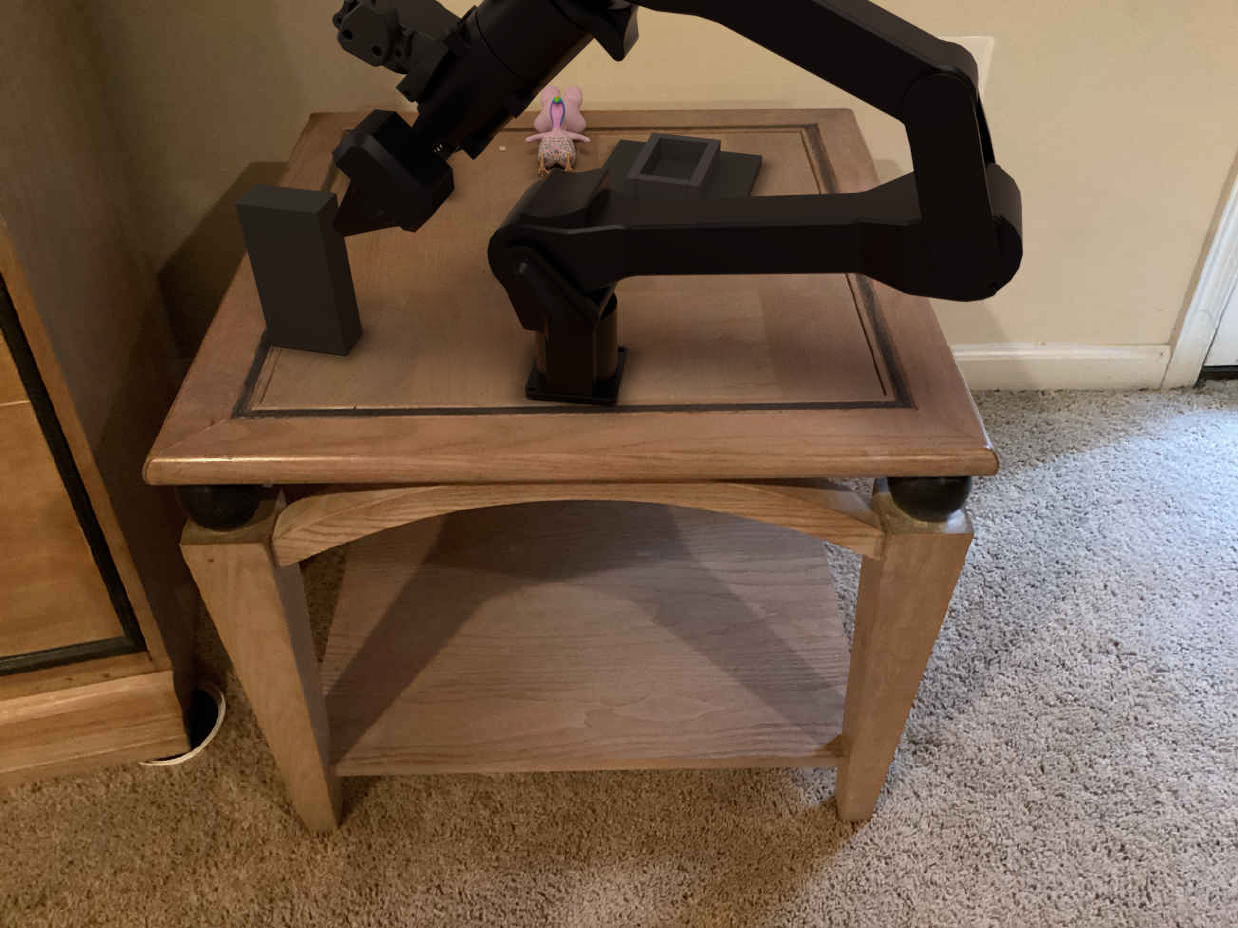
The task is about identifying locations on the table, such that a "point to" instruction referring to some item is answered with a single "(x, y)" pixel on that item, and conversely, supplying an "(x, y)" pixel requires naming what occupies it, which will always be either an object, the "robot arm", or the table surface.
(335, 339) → the black tall block
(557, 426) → the table surface
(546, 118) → the rabbit figure
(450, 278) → the table surface
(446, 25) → the robot arm
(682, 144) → the base pad
